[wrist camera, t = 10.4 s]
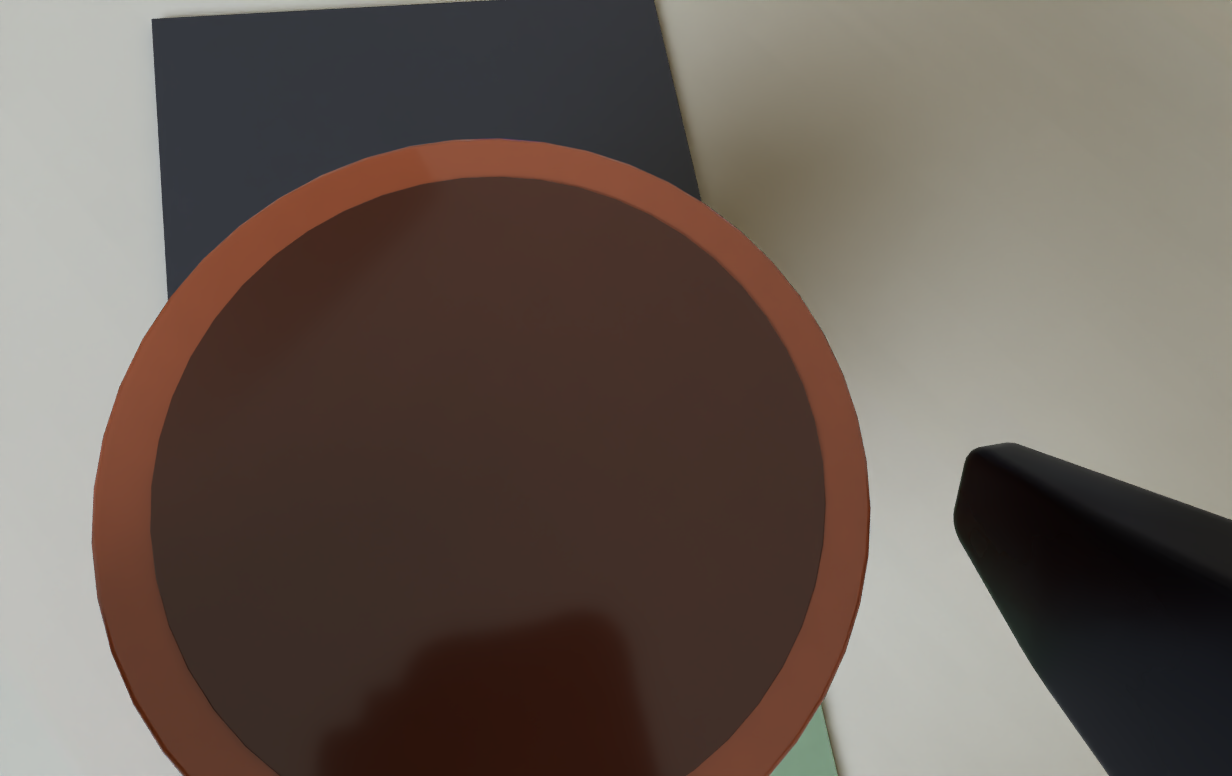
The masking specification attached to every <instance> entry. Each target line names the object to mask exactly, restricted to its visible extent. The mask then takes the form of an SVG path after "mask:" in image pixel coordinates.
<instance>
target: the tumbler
mask: <svg viewBox="0 0 1232 776" xmlns="http://www.w3.org/2000/svg"><path fill="white" fill-rule="evenodd" d="M869 529H870V497H869V484H868V472H867V461H866V456H865V451H864V446H863V442H862V437H861V432H860V427H859V422H858V417H857V414H856V411H855V408H854V405H853V402H852V399H851V396H850V393H849V390H848V387H847V384H846V381H845V378H844V375H843V373H842V371H841V369H840V367H839V364H838V362H837V360H836V358H835V356H834V354H833V352H832V350H831V348H830V346H829V344H828V341H827V339H826V337H825V335H824V333H823V332H822V330H821V328H820V327H819V325H818V324H817V322H816V320H815V319H814V317H813V316H812V314H811V313H810V311H809V309H808V308H807V306H806V305H805V303H804V302H803V300H802V298H801V297H800V295H799V294H798V293H797V292H796V290H795V289H794V288H793V287H792V286H791V284H790V283H789V282H788V281H787V279H786V278H785V277H784V276H783V274H782V273H781V272H780V271H779V270H778V268H777V267H776V266H775V265H774V263H773V262H772V261H771V260H770V259H769V258H768V257H767V256H766V255H765V254H764V253H763V252H762V251H761V250H760V249H759V248H758V247H756V246H755V245H754V244H753V243H752V242H751V241H750V240H749V239H748V238H747V237H746V236H745V235H744V234H743V233H742V232H741V231H740V230H738V229H737V228H736V227H735V226H733V225H732V224H731V223H729V222H728V221H727V220H726V219H724V218H723V217H722V216H720V215H719V214H718V213H716V212H715V211H714V210H713V209H711V208H710V207H709V206H707V205H706V204H704V203H703V202H701V201H699V200H698V199H696V198H694V197H693V196H691V195H689V194H688V193H686V192H684V191H683V190H681V189H679V188H678V187H676V186H674V185H673V184H671V183H669V182H667V181H665V180H663V179H661V178H658V177H656V176H654V175H652V174H650V173H647V172H645V171H643V170H641V169H639V168H636V167H634V166H632V165H630V164H627V163H624V162H621V161H617V160H614V159H611V158H608V157H605V156H602V155H599V154H596V153H593V152H590V151H586V150H581V149H576V148H571V147H566V146H561V145H556V144H551V143H546V142H537V141H525V140H513V139H502V138H495V139H460V140H449V141H442V142H435V143H428V144H421V145H414V146H409V147H405V148H401V149H397V150H393V151H390V152H386V153H382V154H378V155H375V156H371V157H367V158H364V159H361V160H359V161H356V162H354V163H351V164H349V165H346V166H344V167H341V168H338V169H336V170H333V171H331V172H328V173H326V174H323V175H321V176H319V177H317V178H315V179H313V180H312V181H310V182H308V183H306V184H304V185H302V186H300V187H299V188H297V189H295V190H293V191H291V192H289V193H287V194H286V195H284V196H282V197H280V198H278V199H277V200H276V201H274V202H273V203H271V204H270V205H269V206H267V207H266V208H264V209H263V210H261V211H260V212H259V213H257V214H256V215H254V216H253V217H252V218H250V219H249V220H247V221H246V222H244V223H243V224H242V225H240V226H239V227H238V228H237V229H236V230H235V231H233V232H232V233H231V234H230V235H229V236H228V237H227V238H226V239H225V240H224V241H222V242H221V243H220V244H219V245H218V246H217V247H216V248H215V249H214V250H212V251H211V252H210V253H209V254H208V255H207V256H206V257H205V258H204V259H203V260H202V261H201V262H200V263H199V264H198V266H197V267H196V268H195V269H194V270H193V271H192V273H191V274H190V275H189V276H188V277H187V278H186V279H185V281H184V282H183V283H182V284H181V285H180V286H179V288H178V289H177V290H176V291H175V292H174V293H173V295H172V296H171V297H170V298H169V300H168V301H167V303H166V305H165V306H164V308H163V309H162V311H161V312H160V314H159V315H158V317H157V318H156V320H155V321H154V323H153V324H152V326H151V327H150V329H149V330H148V332H147V333H146V335H145V336H144V338H143V340H142V342H141V344H140V346H139V348H138V350H137V352H136V354H135V356H134V358H133V360H132V362H131V364H130V366H129V368H128V370H127V372H126V375H125V377H124V379H123V381H122V383H121V385H120V387H119V390H118V393H117V396H116V399H115V402H114V405H113V409H112V412H111V415H110V418H109V421H108V424H107V427H106V430H105V433H104V436H103V441H102V447H101V452H100V458H99V463H98V469H97V474H96V480H95V485H94V497H93V522H92V551H93V561H94V570H95V580H96V589H97V599H98V603H99V606H100V610H101V614H102V618H103V622H104V626H105V630H106V634H107V638H108V641H109V645H110V649H111V653H112V655H113V658H114V660H115V662H116V665H117V667H118V669H119V672H120V674H121V677H122V679H123V681H124V684H125V686H126V688H127V691H128V693H129V695H130V698H131V700H132V702H133V705H134V706H135V708H136V710H137V711H138V713H139V714H140V716H141V718H142V719H143V721H144V723H145V724H146V726H147V727H148V729H149V731H150V732H151V734H152V736H153V737H154V739H155V740H156V742H157V744H158V745H159V747H160V749H161V750H162V752H163V753H164V754H165V756H166V757H167V758H168V759H169V760H170V761H171V763H172V764H173V765H174V766H175V767H176V768H177V770H178V771H179V772H180V773H181V774H182V776H770V775H771V773H772V772H773V771H774V770H775V769H776V767H777V766H778V765H779V764H780V762H781V761H782V760H783V759H784V758H785V756H786V755H787V754H788V753H789V752H790V750H791V749H792V748H793V747H794V745H795V744H796V743H797V742H798V740H799V738H800V737H801V735H802V734H803V732H804V730H805V729H806V727H807V726H808V724H809V722H810V721H811V719H812V718H813V716H814V714H815V713H816V711H817V709H818V708H819V706H820V705H821V703H822V701H823V700H824V698H825V696H826V694H827V692H828V689H829V687H830V685H831V683H832V681H833V678H834V676H835V674H836V672H837V670H838V667H839V665H840V663H841V661H842V658H843V656H844V654H845V652H846V648H847V645H848V642H849V639H850V635H851V632H852V629H853V626H854V622H855V619H856V616H857V613H858V609H859V606H860V602H861V596H862V590H863V584H864V578H865V573H866V567H867V561H868V552H869Z"/></svg>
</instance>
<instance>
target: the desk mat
mask: <svg viewBox="0 0 1232 776" xmlns="http://www.w3.org/2000/svg"><path fill="white" fill-rule="evenodd" d="M152 34H153V51H154V68H155V85H156V102H157V119H158V137H159V154H160V171H161V188H162V205H163V223H164V240H165V257H166V274H167V291H168V300H169V298H170V297H171V296H172V295H173V293H174V292H175V291H176V290H177V289H178V288H179V286H180V285H181V284H182V283H183V282H184V281H185V279H186V278H187V277H188V276H189V275H190V274H191V273H192V271H193V270H194V269H195V268H196V267H197V266H198V264H199V263H200V262H201V261H202V260H203V259H204V258H205V257H206V256H207V255H208V254H209V253H210V252H211V251H212V250H214V249H215V248H216V247H217V246H218V245H219V244H220V243H221V242H222V241H224V240H225V239H226V238H227V237H228V236H229V235H230V234H231V233H232V232H233V231H235V230H236V229H237V228H238V227H239V226H240V225H242V224H243V223H244V222H246V221H247V220H249V219H250V218H252V217H253V216H254V215H256V214H257V213H259V212H260V211H261V210H263V209H264V208H266V207H267V206H269V205H270V204H271V203H273V202H274V201H276V200H277V199H278V198H280V197H282V196H284V195H286V194H287V193H289V192H291V191H293V190H295V189H297V188H299V187H300V186H302V185H304V184H306V183H308V182H310V181H312V180H313V179H315V178H317V177H319V176H321V175H323V174H326V173H328V172H331V171H333V170H336V169H338V168H341V167H344V166H346V165H349V164H351V163H354V162H356V161H359V160H361V159H364V158H367V157H371V156H375V155H378V154H382V153H386V152H390V151H393V150H397V149H401V148H405V147H409V146H414V145H421V144H428V143H435V142H442V141H449V140H460V139H495V138H502V139H513V140H525V141H537V142H546V143H551V144H556V145H561V146H566V147H571V148H576V149H581V150H586V151H590V152H593V153H596V154H599V155H602V156H605V157H608V158H611V159H614V160H617V161H621V162H624V163H627V164H630V165H632V166H634V167H636V168H639V169H641V170H643V171H645V172H647V173H650V174H652V175H654V176H656V177H658V178H661V179H663V180H665V181H667V182H669V183H671V184H673V185H674V186H676V187H678V188H679V189H681V190H683V191H684V192H686V193H688V194H689V195H691V196H693V197H694V198H696V199H698V200H699V201H701V197H700V193H699V189H698V185H697V180H696V176H695V172H694V168H693V164H692V159H691V155H690V151H689V147H688V143H687V138H686V134H685V130H684V126H683V122H682V117H681V113H680V109H679V105H678V100H677V96H676V92H675V88H674V84H673V79H672V75H671V71H670V67H669V63H668V58H667V54H666V50H665V46H664V42H663V37H662V33H661V29H660V25H659V20H658V16H657V12H656V8H655V4H654V0H490V1H471V2H453V3H435V4H417V5H398V6H380V7H362V8H343V9H325V10H307V11H288V12H270V13H252V14H234V15H215V16H197V17H179V18H160V19H152ZM770 776H838V774H837V770H836V766H835V761H834V757H833V753H832V749H831V745H830V740H829V736H828V732H827V728H826V724H825V719H824V715H823V711H822V707H821V705H820V706H819V708H818V709H817V711H816V713H815V714H814V716H813V718H812V719H811V721H810V722H809V724H808V726H807V727H806V729H805V730H804V732H803V734H802V735H801V737H800V738H799V740H798V742H797V743H796V744H795V745H794V747H793V748H792V749H791V750H790V752H789V753H788V754H787V755H786V756H785V758H784V759H783V760H782V761H781V762H780V764H779V765H778V766H777V767H776V769H775V770H774V771H773V772H772V773H771V775H770Z"/></svg>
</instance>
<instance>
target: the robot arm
mask: <svg viewBox="0 0 1232 776" xmlns="http://www.w3.org/2000/svg"><path fill="white" fill-rule="evenodd" d="M953 516H954V526H955V530H956V533H957V536H958V538H959V540H960V542H961V544H962V545H963V547H964V549H965V551H966V552H967V554H968V556H969V558H970V559H971V561H972V563H973V565H974V566H975V568H976V570H977V572H978V573H979V575H980V577H981V579H982V580H983V582H984V584H985V586H986V587H987V589H988V591H989V593H990V594H991V596H992V598H993V600H994V601H995V603H996V605H997V607H998V608H999V610H1000V612H1001V614H1002V615H1003V617H1004V619H1005V621H1006V622H1007V624H1008V626H1009V628H1010V629H1011V631H1012V633H1013V634H1014V636H1015V638H1016V640H1017V641H1018V643H1019V645H1020V647H1021V648H1022V650H1023V652H1024V653H1025V655H1026V656H1027V658H1028V660H1029V661H1030V663H1031V665H1032V666H1033V668H1034V669H1035V671H1036V672H1037V674H1038V675H1039V677H1040V678H1041V680H1042V681H1043V683H1044V684H1045V686H1046V687H1047V689H1048V690H1049V692H1050V693H1051V694H1052V696H1053V697H1054V699H1055V700H1056V701H1057V703H1058V704H1059V706H1060V707H1061V709H1062V710H1063V711H1064V713H1065V714H1066V716H1067V717H1068V718H1069V720H1070V721H1071V723H1072V724H1073V725H1074V727H1075V728H1076V730H1077V731H1078V733H1079V734H1080V735H1081V737H1082V738H1083V740H1084V741H1085V742H1086V744H1087V745H1088V747H1089V748H1090V749H1091V751H1092V752H1093V754H1094V755H1095V756H1096V758H1097V759H1098V761H1099V762H1100V764H1101V765H1102V766H1103V768H1104V769H1105V771H1106V772H1107V773H1108V775H1109V776H1232V520H1230V519H1227V518H1224V517H1222V516H1219V515H1216V514H1213V513H1210V512H1208V511H1205V510H1202V509H1199V508H1196V507H1193V506H1191V505H1188V504H1185V503H1182V502H1179V501H1177V500H1174V499H1171V498H1168V497H1165V496H1163V495H1160V494H1157V493H1154V492H1151V491H1149V490H1146V489H1143V488H1140V487H1137V486H1134V485H1132V484H1129V483H1126V482H1123V481H1120V480H1118V479H1115V478H1112V477H1109V476H1106V475H1104V474H1101V473H1098V472H1095V471H1092V470H1089V469H1087V468H1084V467H1081V466H1078V465H1075V464H1073V463H1070V462H1067V461H1064V460H1061V459H1059V458H1056V457H1053V456H1050V455H1047V454H1045V453H1042V452H1039V451H1036V450H1033V449H1030V448H1028V447H1025V446H1022V445H1019V444H1016V443H1001V444H995V445H989V446H984V447H978V448H976V449H974V450H972V451H971V452H970V453H969V455H968V456H967V457H966V460H965V463H964V468H963V472H962V477H961V481H960V486H959V490H958V495H957V499H956V504H955V508H954V514H953Z"/></svg>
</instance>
